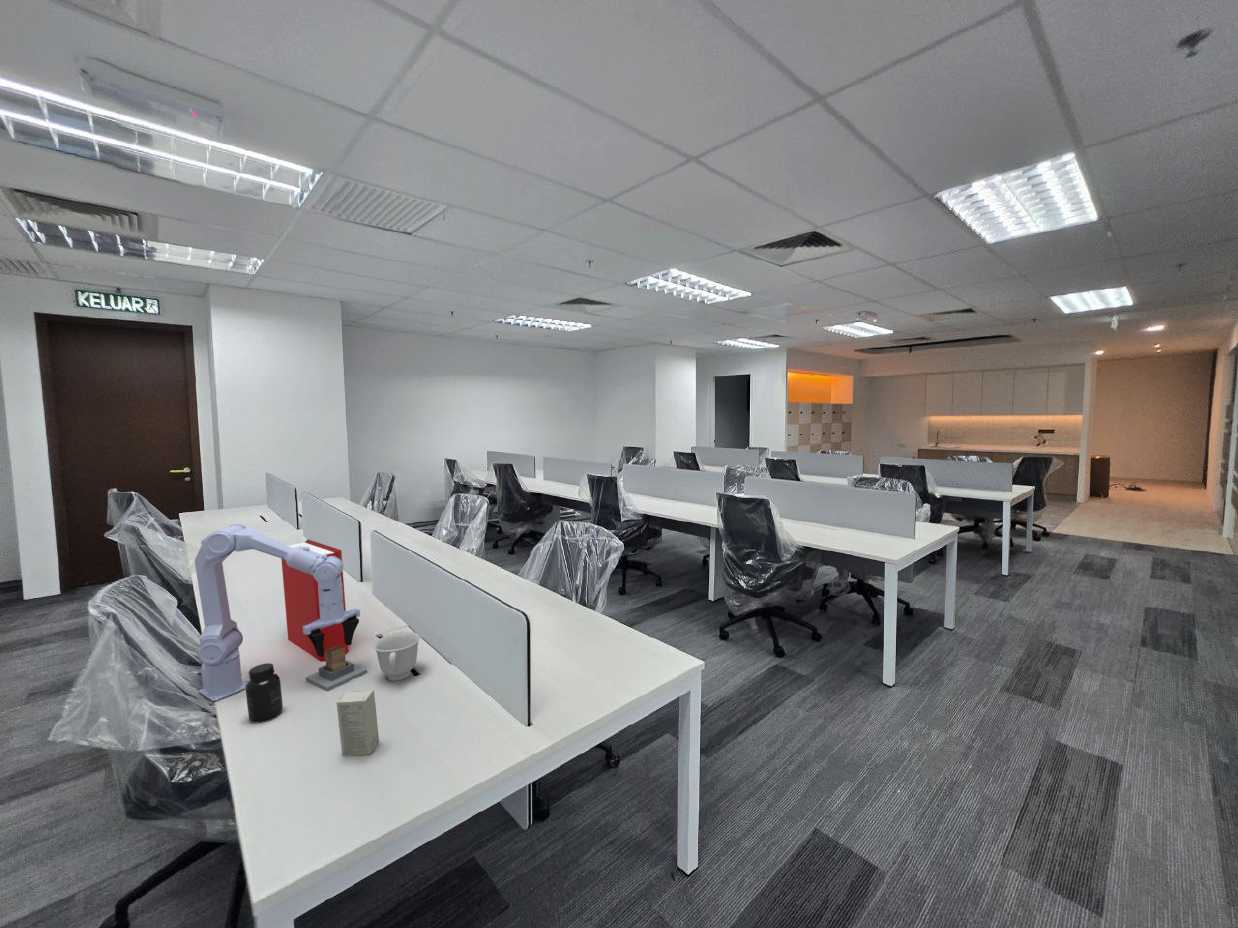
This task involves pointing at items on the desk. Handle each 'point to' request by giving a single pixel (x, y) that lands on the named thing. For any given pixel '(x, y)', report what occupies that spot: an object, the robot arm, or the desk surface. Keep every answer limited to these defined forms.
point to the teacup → (397, 654)
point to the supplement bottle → (263, 693)
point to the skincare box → (357, 722)
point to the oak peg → (335, 658)
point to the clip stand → (335, 676)
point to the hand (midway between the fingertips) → (334, 649)
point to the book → (309, 604)
